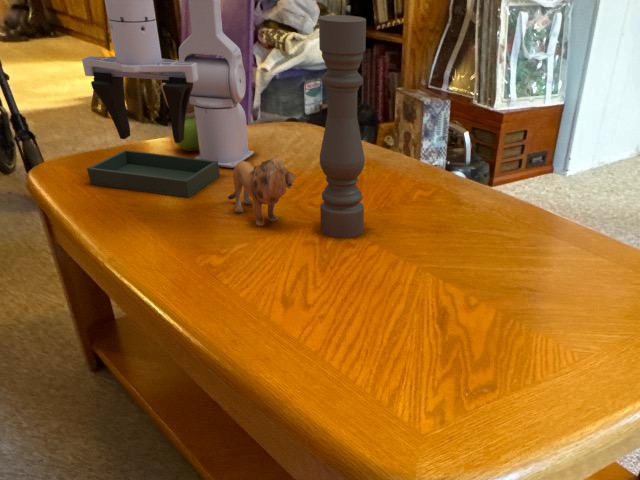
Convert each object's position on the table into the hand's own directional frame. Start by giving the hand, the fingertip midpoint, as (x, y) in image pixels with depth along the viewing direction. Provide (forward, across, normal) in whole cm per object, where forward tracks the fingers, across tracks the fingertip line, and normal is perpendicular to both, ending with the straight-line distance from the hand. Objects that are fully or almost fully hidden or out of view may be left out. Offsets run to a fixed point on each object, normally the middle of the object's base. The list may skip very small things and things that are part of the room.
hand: (152, 139), depth 93 cm
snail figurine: (+10, -6, +31) cm, 34 cm away
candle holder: (+10, +27, -1) cm, 28 cm away
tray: (+10, -6, +14) cm, 18 cm away
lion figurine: (+10, +14, +2) cm, 17 cm away
